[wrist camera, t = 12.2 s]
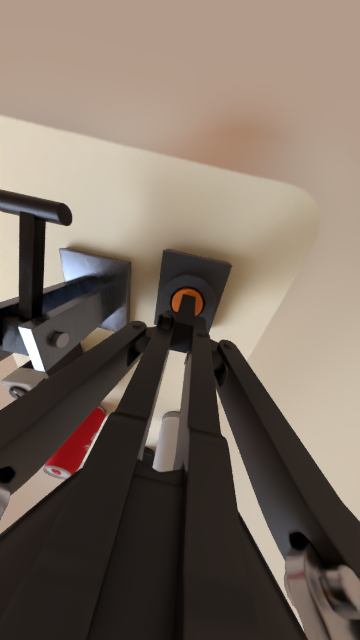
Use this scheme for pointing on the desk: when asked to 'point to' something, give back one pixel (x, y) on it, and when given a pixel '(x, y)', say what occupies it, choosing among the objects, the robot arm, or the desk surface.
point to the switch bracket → (74, 307)
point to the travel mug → (167, 442)
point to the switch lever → (29, 258)
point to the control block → (191, 281)
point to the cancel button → (187, 291)
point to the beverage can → (75, 447)
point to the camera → (35, 374)
